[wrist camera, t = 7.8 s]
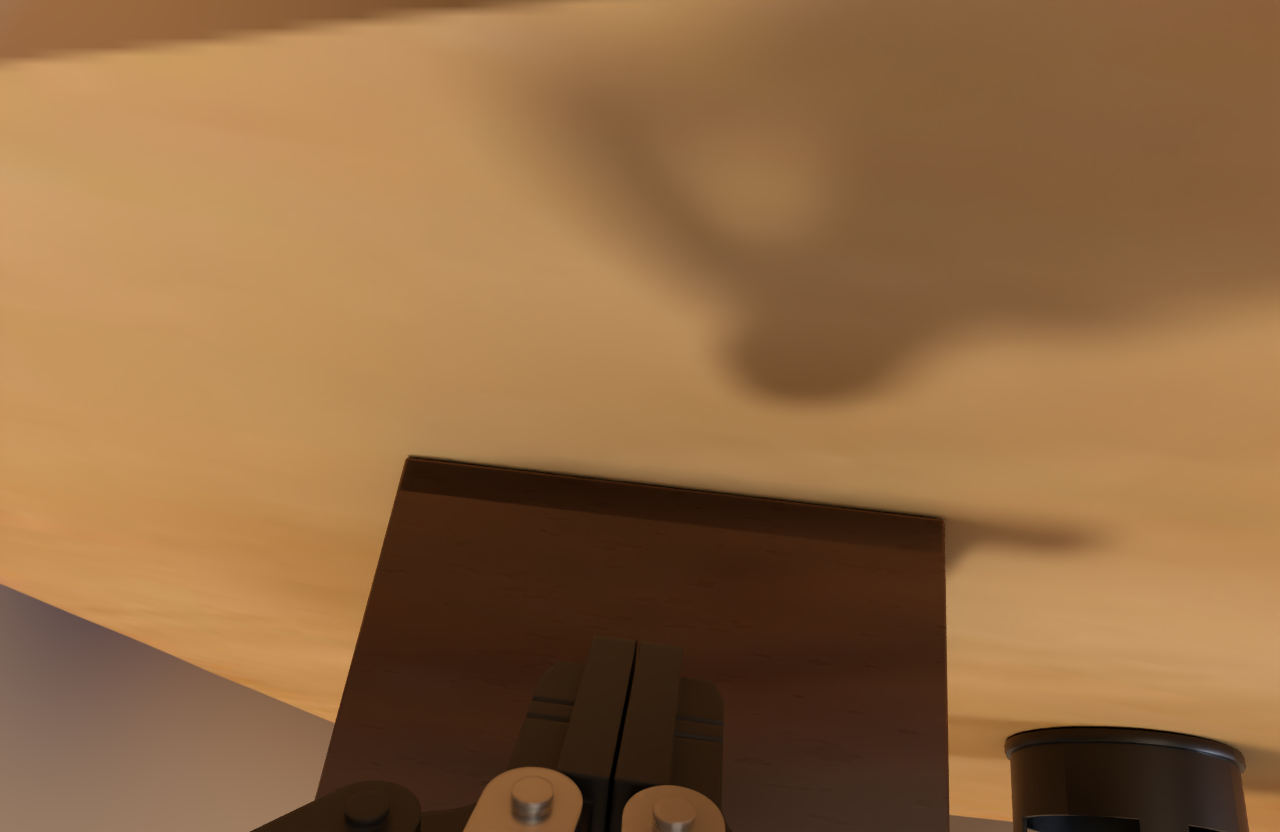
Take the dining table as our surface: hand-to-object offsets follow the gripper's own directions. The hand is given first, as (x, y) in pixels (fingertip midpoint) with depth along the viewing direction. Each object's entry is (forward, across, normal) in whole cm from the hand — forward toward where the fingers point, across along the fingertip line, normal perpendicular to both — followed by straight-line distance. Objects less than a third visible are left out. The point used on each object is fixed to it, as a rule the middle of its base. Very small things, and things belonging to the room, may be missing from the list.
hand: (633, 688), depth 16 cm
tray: (+14, 0, +6) cm, 15 cm away
